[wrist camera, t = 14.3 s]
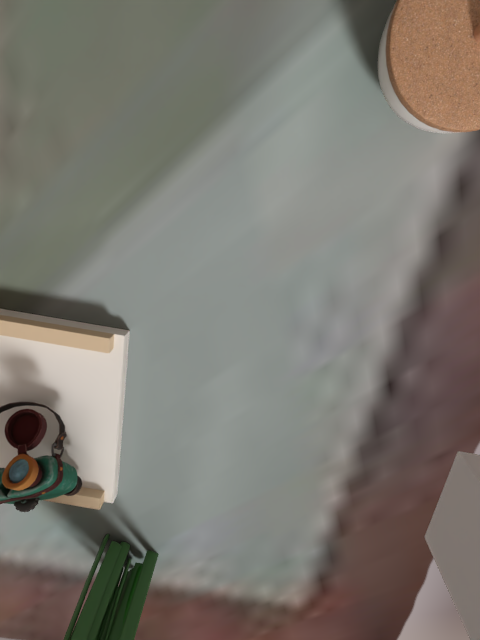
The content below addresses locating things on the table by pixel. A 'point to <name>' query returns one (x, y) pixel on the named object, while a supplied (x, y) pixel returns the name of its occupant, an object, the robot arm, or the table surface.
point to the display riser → (68, 395)
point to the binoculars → (34, 461)
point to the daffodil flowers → (113, 596)
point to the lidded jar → (433, 64)
